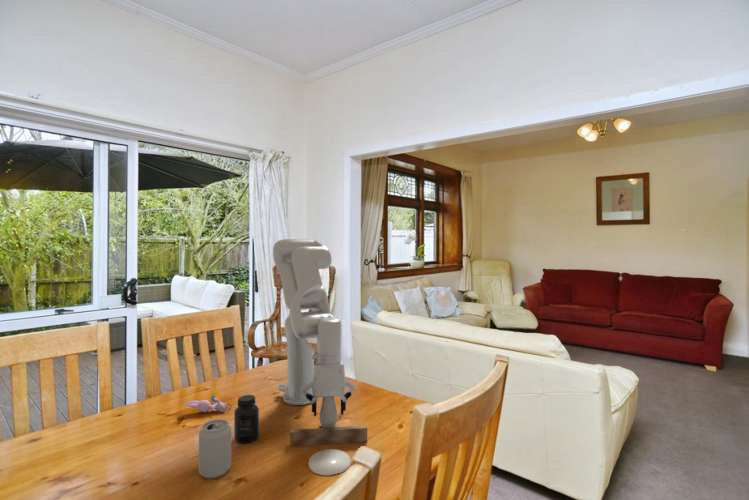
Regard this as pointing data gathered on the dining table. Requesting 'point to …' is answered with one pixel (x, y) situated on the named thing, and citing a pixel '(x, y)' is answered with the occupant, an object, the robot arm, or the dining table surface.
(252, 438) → the supplement bottle
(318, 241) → the robot arm
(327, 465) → the ceramic coaster
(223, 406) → the rabbit figure
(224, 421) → the can
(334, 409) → the grey tapered upright piece
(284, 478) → the dining table surface
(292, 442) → the walnut wall
